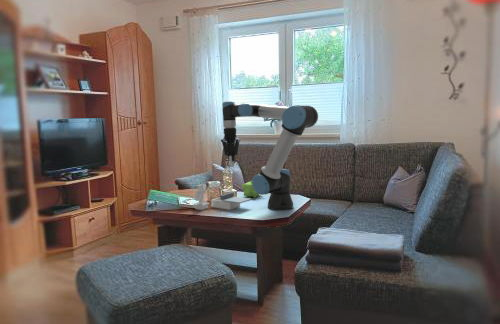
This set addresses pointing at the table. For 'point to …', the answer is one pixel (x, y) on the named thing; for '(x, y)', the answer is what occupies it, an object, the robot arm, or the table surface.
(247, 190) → the green lumpy block
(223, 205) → the mailer box
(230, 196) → the lid
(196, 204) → the figurine
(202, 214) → the table surface
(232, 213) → the table surface
